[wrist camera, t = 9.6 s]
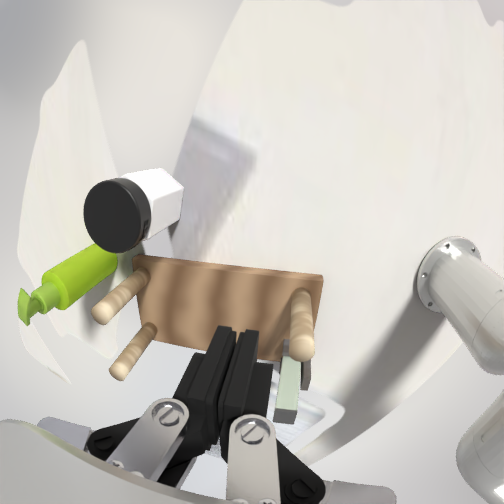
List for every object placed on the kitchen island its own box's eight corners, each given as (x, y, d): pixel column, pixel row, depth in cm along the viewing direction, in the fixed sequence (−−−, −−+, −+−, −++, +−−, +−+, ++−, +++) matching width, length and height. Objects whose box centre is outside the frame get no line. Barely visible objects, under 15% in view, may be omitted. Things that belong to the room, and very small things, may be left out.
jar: (143, 233, 40) (96, 262, 29) (125, 183, 38) (72, 198, 27) (194, 215, 38) (155, 242, 27) (175, 160, 36) (127, 167, 24)
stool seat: (322, 275, 38) (333, 335, 25) (306, 356, 44) (305, 422, 30) (138, 254, 41) (84, 295, 28) (148, 331, 47) (110, 382, 34)
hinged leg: (284, 346, 40) (301, 348, 40) (282, 359, 41) (298, 360, 41) (274, 410, 29) (297, 412, 28) (272, 422, 30) (293, 424, 29)
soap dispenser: (124, 250, 42) (37, 311, 23) (111, 279, 44) (36, 344, 26) (99, 229, 41) (8, 278, 23) (88, 260, 44) (9, 314, 25)
